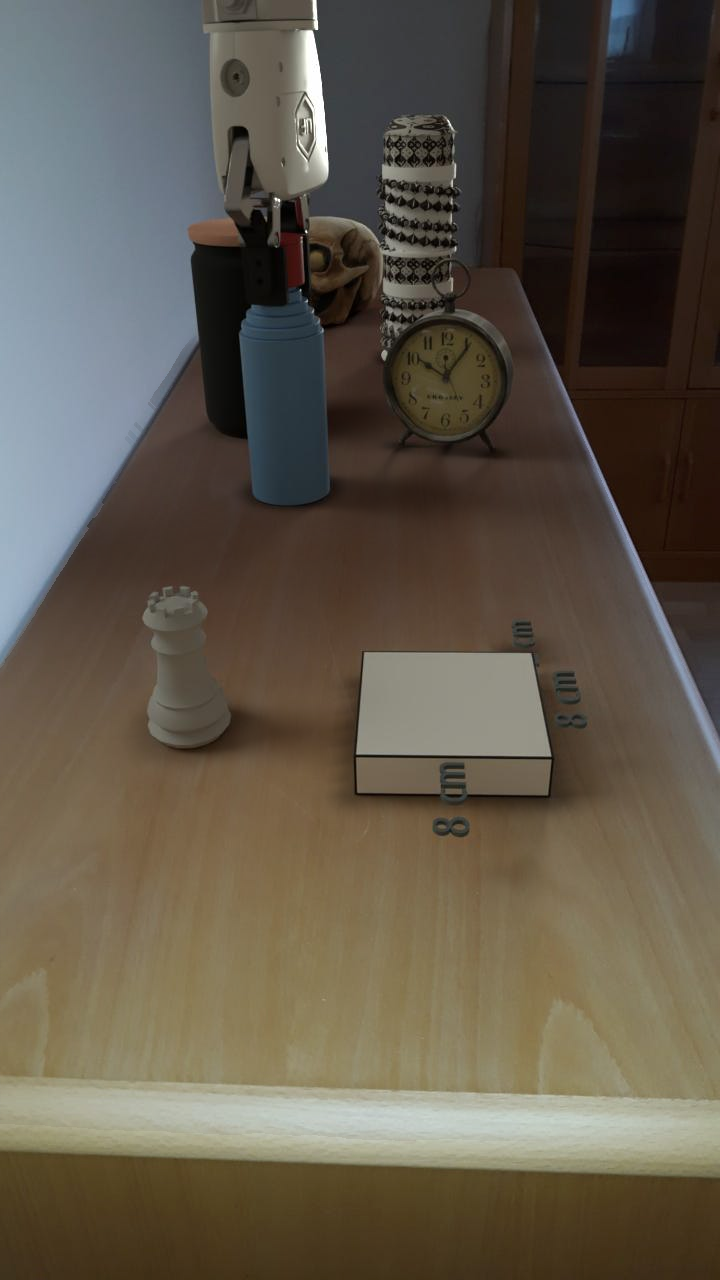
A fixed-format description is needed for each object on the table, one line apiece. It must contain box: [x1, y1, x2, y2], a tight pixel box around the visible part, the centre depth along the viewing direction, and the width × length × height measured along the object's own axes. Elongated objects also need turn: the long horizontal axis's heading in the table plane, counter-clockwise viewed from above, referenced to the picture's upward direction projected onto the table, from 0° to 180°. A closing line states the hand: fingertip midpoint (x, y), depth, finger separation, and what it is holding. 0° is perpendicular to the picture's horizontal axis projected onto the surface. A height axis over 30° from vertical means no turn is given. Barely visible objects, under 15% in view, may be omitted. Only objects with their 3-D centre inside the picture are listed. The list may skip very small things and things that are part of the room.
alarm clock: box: [382, 257, 514, 454], centre depth 85 cm, size 11×5×16 cm, turn 73°
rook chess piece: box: [141, 585, 232, 750], centre depth 51 cm, size 4×4×8 cm
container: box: [353, 620, 588, 838], centre depth 51 cm, size 20×11×3 cm, turn 177°
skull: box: [307, 215, 384, 327], centre depth 132 cm, size 16×17×13 cm
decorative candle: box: [375, 114, 462, 362], centre depth 109 cm, size 9×9×25 cm
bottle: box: [239, 287, 331, 506], centre depth 77 cm, size 6×6×19 cm
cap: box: [279, 233, 305, 288], centre depth 72 cm, size 4×4×3 cm
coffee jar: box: [187, 216, 312, 439], centre depth 92 cm, size 11×11×18 cm
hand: (279, 294), depth 73 cm, fingers closed on cap, 3 cm apart
